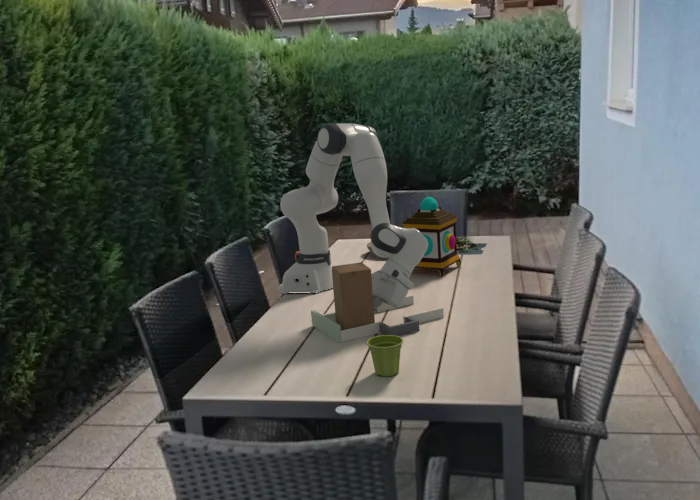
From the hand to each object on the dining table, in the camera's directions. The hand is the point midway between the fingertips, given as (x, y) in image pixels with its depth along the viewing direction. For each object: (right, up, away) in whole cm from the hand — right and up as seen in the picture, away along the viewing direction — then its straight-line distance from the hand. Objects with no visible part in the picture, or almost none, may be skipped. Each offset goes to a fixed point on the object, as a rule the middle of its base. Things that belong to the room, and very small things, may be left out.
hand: (368, 310), depth 217 cm
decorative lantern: (+27, +11, +60) cm, 67 cm away
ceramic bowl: (+14, +17, +96) cm, 98 cm away
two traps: (+3, -4, +2) cm, 6 cm away
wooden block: (-4, -6, -4) cm, 8 cm away
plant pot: (+4, -13, -39) cm, 41 cm away
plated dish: (+40, +18, +95) cm, 104 cm away
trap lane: (+3, -4, +2) cm, 6 cm away
